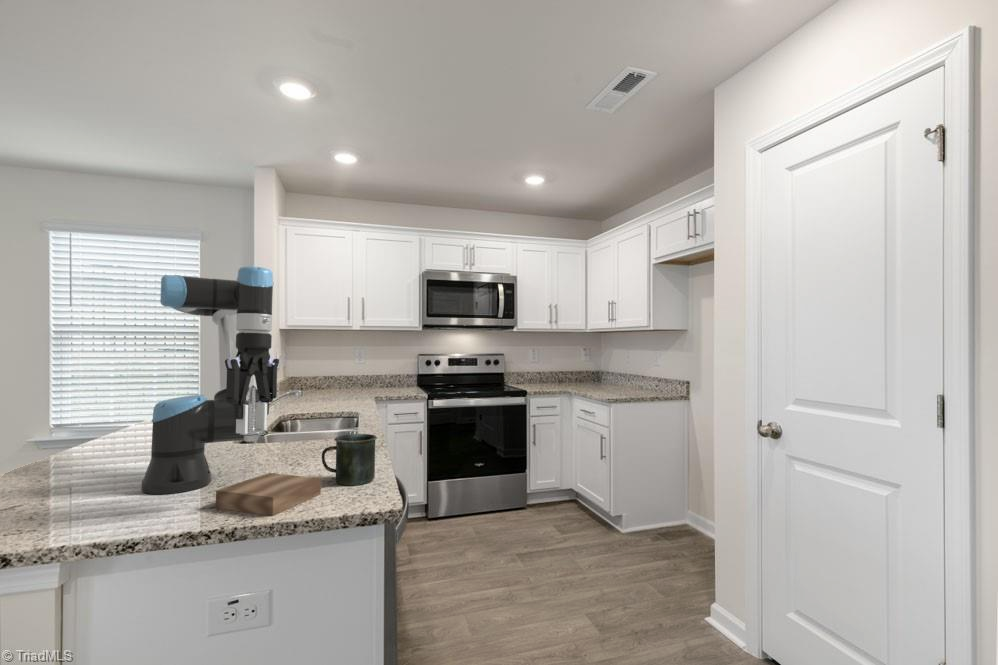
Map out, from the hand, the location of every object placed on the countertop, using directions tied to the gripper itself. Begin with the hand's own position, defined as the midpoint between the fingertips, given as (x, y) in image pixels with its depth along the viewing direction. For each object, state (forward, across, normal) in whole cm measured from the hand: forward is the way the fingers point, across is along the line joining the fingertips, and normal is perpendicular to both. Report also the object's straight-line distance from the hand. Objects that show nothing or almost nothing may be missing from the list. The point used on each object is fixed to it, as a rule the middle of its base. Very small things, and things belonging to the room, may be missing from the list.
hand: (251, 431), depth 110 cm
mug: (+17, +24, -9) cm, 31 cm away
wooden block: (+17, +4, -2) cm, 18 cm away
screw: (+2, 0, 0) cm, 2 cm away
